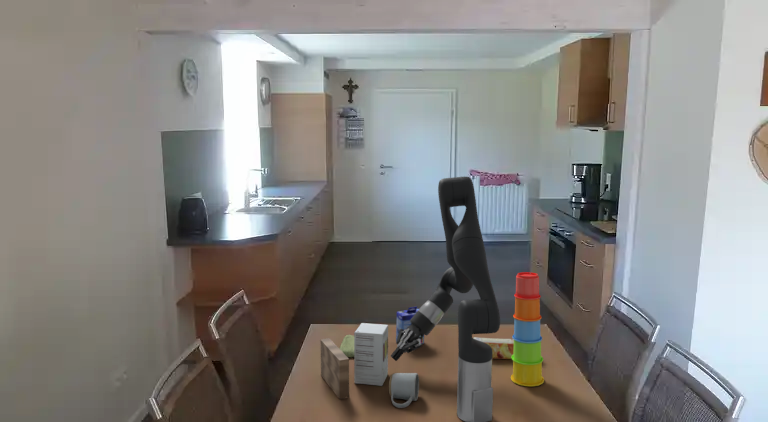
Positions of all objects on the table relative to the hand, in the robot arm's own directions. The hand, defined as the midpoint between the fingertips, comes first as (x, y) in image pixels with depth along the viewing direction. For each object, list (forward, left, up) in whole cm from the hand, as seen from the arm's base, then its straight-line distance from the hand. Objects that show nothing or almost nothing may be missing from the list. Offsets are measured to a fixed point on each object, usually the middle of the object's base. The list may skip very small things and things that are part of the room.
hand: (393, 358), depth 182 cm
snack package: (-2, -41, -6) cm, 42 cm away
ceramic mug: (-17, +4, -6) cm, 18 cm away
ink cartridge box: (+22, -17, -6) cm, 29 cm away
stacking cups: (-21, -37, -6) cm, 43 cm away
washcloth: (+25, +3, -6) cm, 26 cm away
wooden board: (0, +20, -5) cm, 21 cm away
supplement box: (0, +8, -6) cm, 10 cm away
